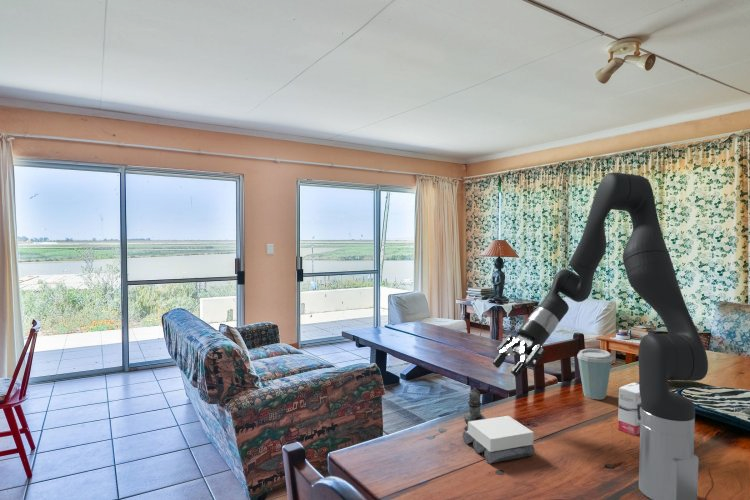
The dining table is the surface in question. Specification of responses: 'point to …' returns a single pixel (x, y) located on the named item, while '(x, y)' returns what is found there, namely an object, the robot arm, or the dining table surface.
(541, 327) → the robot arm
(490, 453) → the roller track
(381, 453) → the dining table surface
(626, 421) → the ink box
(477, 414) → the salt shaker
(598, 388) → the disposable coffee cup
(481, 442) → the slab
